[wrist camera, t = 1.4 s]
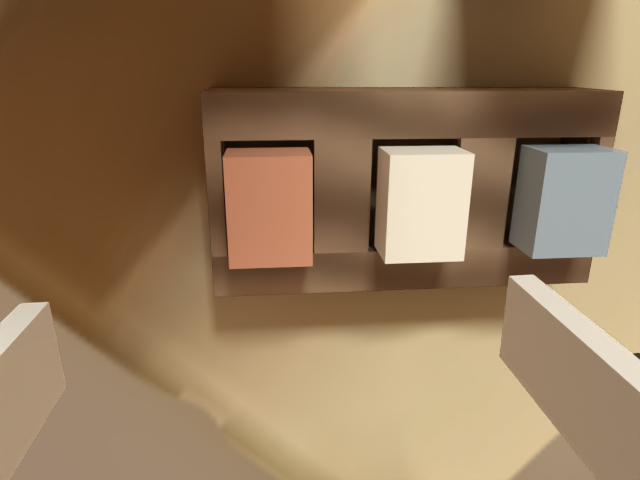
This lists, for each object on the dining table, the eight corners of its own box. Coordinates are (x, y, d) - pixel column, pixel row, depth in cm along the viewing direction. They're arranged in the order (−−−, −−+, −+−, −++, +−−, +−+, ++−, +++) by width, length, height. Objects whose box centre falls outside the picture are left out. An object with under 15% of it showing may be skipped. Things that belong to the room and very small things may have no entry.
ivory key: (378, 146, 29) (390, 155, 26) (455, 145, 30) (474, 154, 27) (374, 245, 31) (385, 263, 28) (446, 243, 31) (464, 261, 29)
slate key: (521, 144, 30) (547, 153, 27) (594, 143, 30) (627, 152, 28) (508, 241, 32) (532, 259, 29) (577, 239, 32) (606, 256, 29)
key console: (210, 87, 32) (200, 91, 27) (574, 87, 34) (623, 91, 29) (221, 266, 36) (214, 296, 31) (547, 255, 38) (587, 282, 33)
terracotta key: (227, 148, 28) (222, 157, 25) (308, 147, 29) (312, 156, 26) (232, 249, 30) (229, 269, 27) (308, 247, 31) (312, 266, 28)
